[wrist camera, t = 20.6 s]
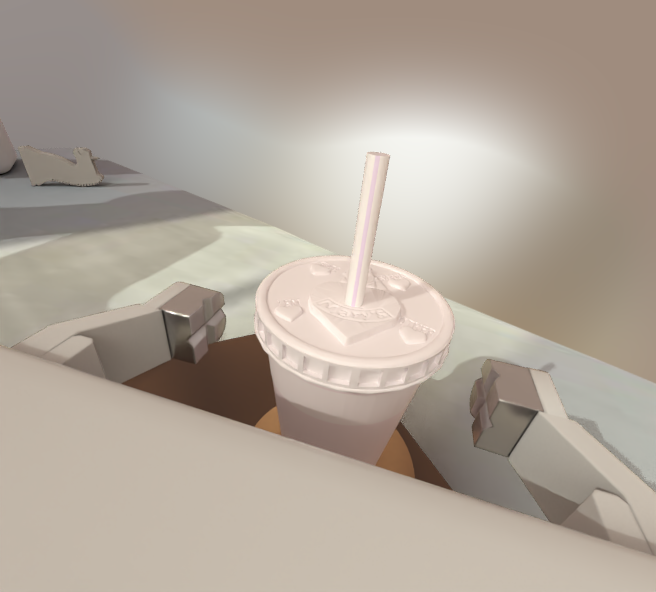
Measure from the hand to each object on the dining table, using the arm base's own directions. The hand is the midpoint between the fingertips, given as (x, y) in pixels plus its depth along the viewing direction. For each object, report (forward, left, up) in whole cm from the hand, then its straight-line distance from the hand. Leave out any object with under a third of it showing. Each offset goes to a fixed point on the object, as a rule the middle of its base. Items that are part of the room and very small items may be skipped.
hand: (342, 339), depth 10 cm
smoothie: (+1, +1, -9) cm, 9 cm away
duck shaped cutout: (-16, +60, -11) cm, 63 cm away
